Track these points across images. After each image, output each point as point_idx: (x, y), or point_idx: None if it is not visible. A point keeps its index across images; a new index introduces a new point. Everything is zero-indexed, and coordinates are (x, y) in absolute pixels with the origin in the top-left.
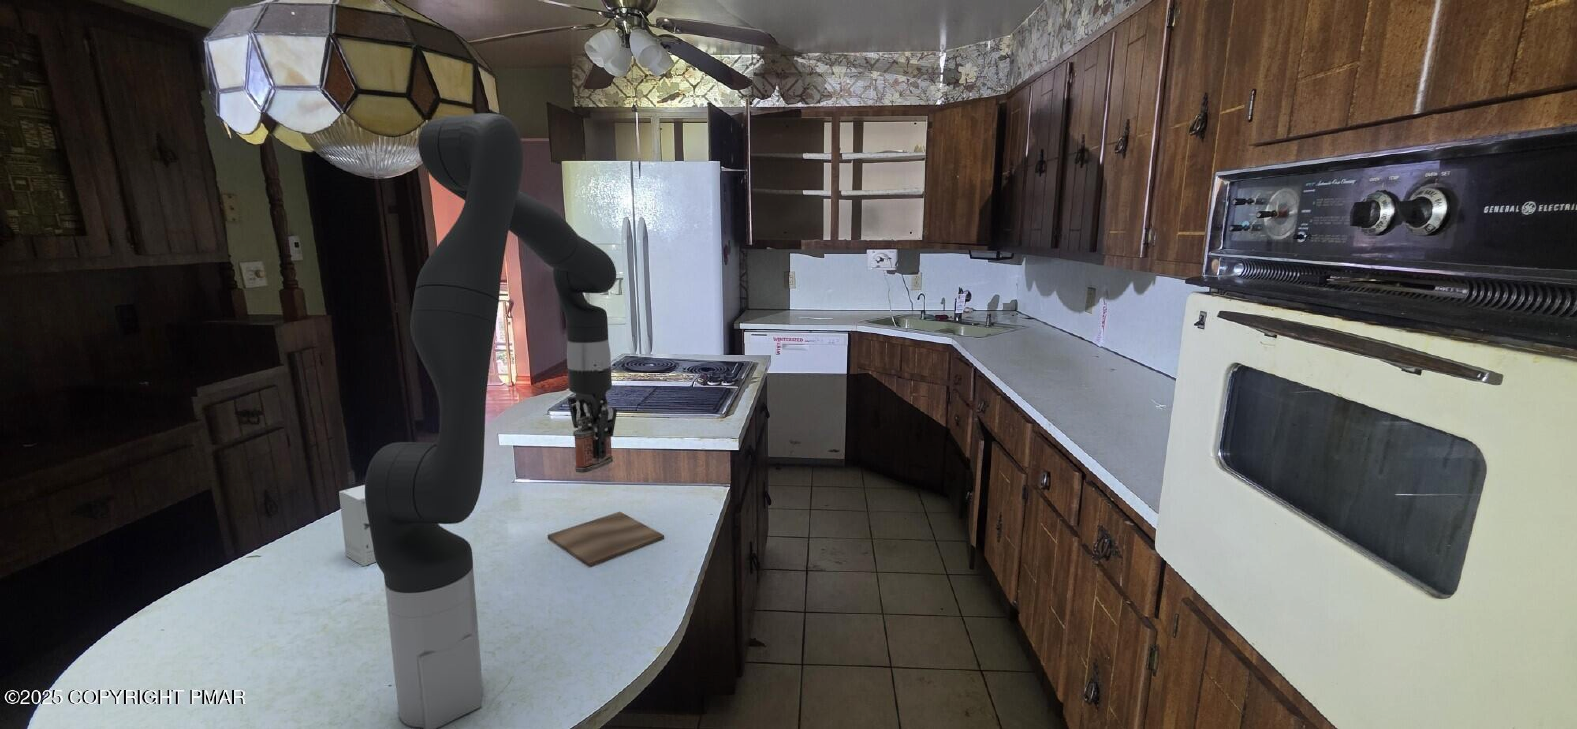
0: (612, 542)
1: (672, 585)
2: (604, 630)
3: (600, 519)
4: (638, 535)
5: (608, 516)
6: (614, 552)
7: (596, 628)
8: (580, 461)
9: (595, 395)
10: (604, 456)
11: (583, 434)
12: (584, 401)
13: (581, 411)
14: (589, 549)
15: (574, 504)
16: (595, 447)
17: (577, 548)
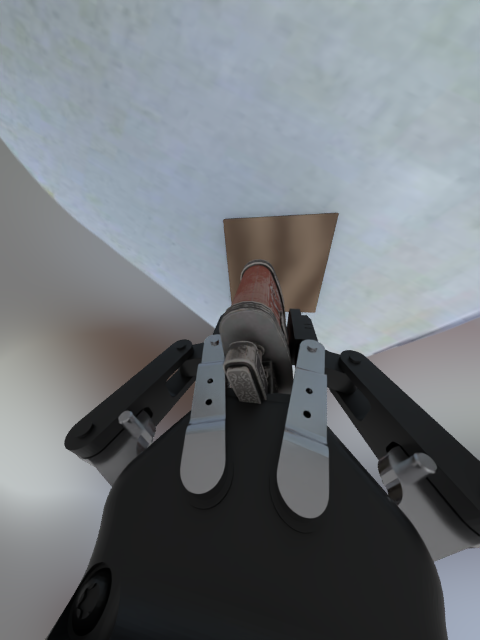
0: None
1: (149, 264)
2: (88, 160)
3: (316, 288)
4: None
5: (314, 298)
6: (229, 256)
7: (94, 154)
8: (245, 274)
9: (80, 594)
10: None
11: (221, 325)
12: (267, 507)
13: (286, 424)
14: (254, 238)
15: (394, 292)
16: None
17: (267, 227)
